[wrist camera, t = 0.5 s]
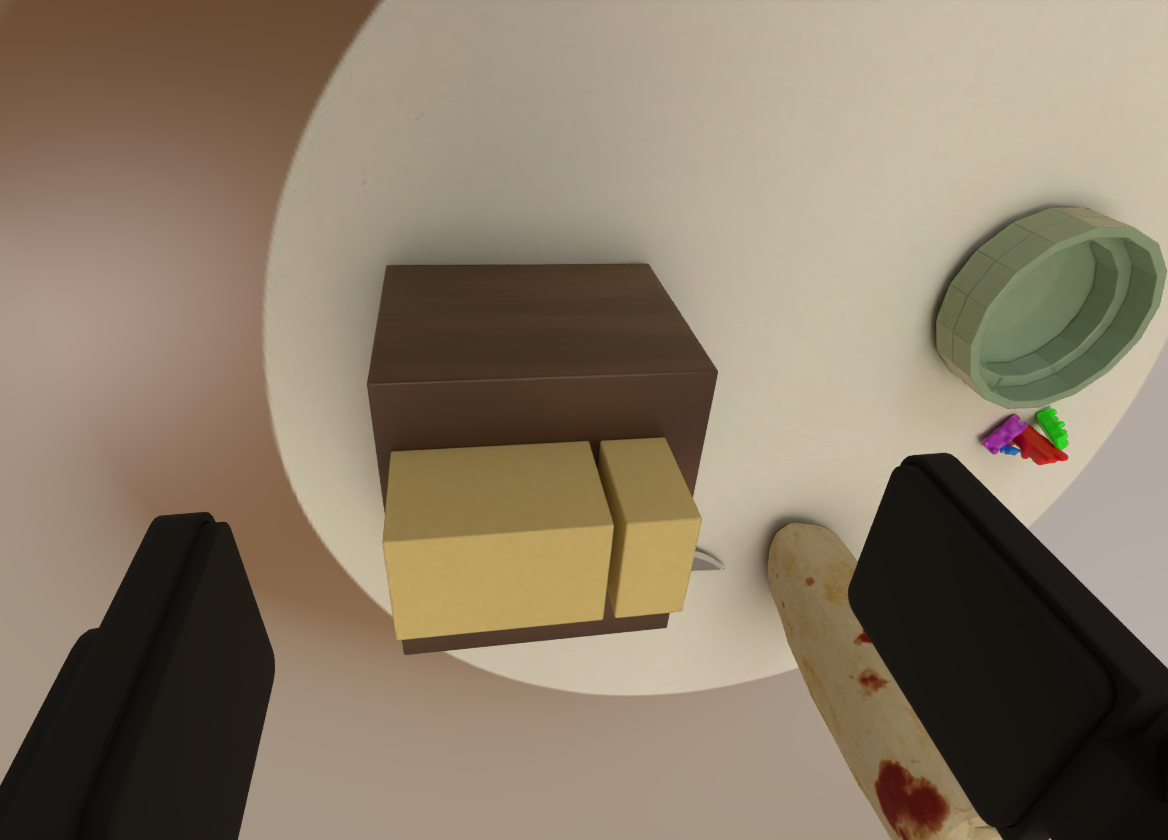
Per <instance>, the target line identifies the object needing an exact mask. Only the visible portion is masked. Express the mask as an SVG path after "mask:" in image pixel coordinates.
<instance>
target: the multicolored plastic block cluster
mask: <svg viewBox="0 0 1168 840" xmlns="http://www.w3.org/2000/svg"><path fill="white" fill-rule="evenodd" d="M1055 414H1056V410H1055V409H1049V410H1045V411H1042V412H1039V413H1037V414H1036V417H1037V420H1038V423H1039V426H1040V427H1041V429H1042V430H1043V432H1044V433H1045V435H1046V437H1047V438H1048V439H1047V438H1046V437H1044V436H1043V435H1041V434H1040V433H1038V432H1037V431H1036V430H1035V429H1034V428H1033V427H1032V426H1031V425H1027V424H1026V423H1025V422H1020V423H1018V422H1019V420H1020V418H1019V417H1018V416H1017V415H1013V416H1011V417H1010V418H1009V419H1008V420H1006V421H1005V422H1004V424H1003V425H1002V426H1000V427H998V428H996V429H995V430H994V431H993V432H992V433H991V434H990V435H989V436H988V437H986V438H984V439H983V440H982V441H981V444H982V445H983V446H984V447H985V448H986V449H987V450H988V451H989V452H991V453H992V454H997V453H998V451H999V450H1000V452H1001V453H1003V452H1004V451H1005V452H1004V453H1005V454H1009V455H1010V454H1011V455H1016V454H1017V453H1018V452H1020V453H1021V457H1022V458H1023V459H1027V458H1029V457H1030V458H1031V459H1032V460H1033V461H1034V462H1035V463H1036V464H1038V465H1044V464H1049V463H1055V462H1057V461H1058V460H1059V461H1066V460H1068V455H1067V454H1065V453H1064V452H1063V451H1061V450H1062V449H1063V448H1065V447H1067V445H1068V440H1067V437H1068V436H1067V431H1066V430H1065V429H1061V428H1062V427H1064V426H1065V423H1064V422H1062V421H1059V422H1058V417H1057V416H1054V415H1055ZM1014 444H1015V445H1016V446H1017V447H1019V448H1020V450H1019V449H1017V448H1015V447H1013V445H1014Z"/></svg>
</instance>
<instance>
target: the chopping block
mask: <svg viewBox="0 0 1168 840" xmlns="http://www.w3.org/2000/svg"><path fill="white" fill-rule="evenodd" d="M717 375H718V370H717V369H716V367H715V366H714V364H713V363H712V361H711V359H710V358H709V356H708V355H707V353H706V352H705V350H704V349H703V347H702V346H701V344H700V343H699V341H698V339H697V338H696V336H695V335H694V333H693V332H692V330H691V329H690V327H689V326H688V324H687V322H686V321H685V319H684V318H683V316H682V315H681V313H680V312H679V310H678V309H677V307H676V306H675V304H674V302H673V301H672V299H671V298H670V296H669V295H668V293H667V292H666V290H665V289H664V287H663V285H662V284H661V282H660V281H659V279H658V278H657V276H656V275H655V273H654V272H653V270H652V269H651V267H650V265H649V264H569V265H404V266H386V270H385V277H384V283H383V289H382V295H381V301H380V307H379V314H378V320H377V326H376V332H375V338H374V344H373V350H372V357H371V363H370V369H369V375H368V381H367V388H368V395H369V403H370V410H371V417H372V425H373V432H374V439H375V446H376V454H377V461H378V468H379V476H380V483H381V490H382V498H383V505H384V512H385V510H386V499H387V489H388V478H389V468H390V457H391V452H392V451H409V450H428V449H447V448H466V447H485V446H504V445H523V444H542V443H561V442H580V441H589V444H590V447H591V450H592V454H593V457H594V460H595V464H596V467H597V470H598V460H599V450H600V442H601V441H605V440H624V439H643V438H662V437H664V438H665V439H666V441H667V443H668V445H669V447H670V450H671V452H672V454H673V456H674V458H675V461H676V463H677V465H678V467H679V469H680V471H681V474H682V476H683V478H684V480H685V482H686V485H687V487H688V489H689V491H690V493H691V496H692V498H693V494H694V489H695V484H696V479H697V474H698V469H699V464H700V459H701V454H702V449H703V444H704V439H705V434H706V429H707V424H708V419H709V414H710V410H711V405H712V400H713V395H714V390H715V385H716V380H717ZM668 618H669V613H661V614H651V615H641V616H631V617H621V618H615V616H614V613H613V609H612V605H611V601H610V597H609V594H608V590H607V589H606V598H605V606H604V614H603V619H602V620H595V621H585V622H575V623H565V624H555V625H545V626H535V627H525V628H515V629H505V630H495V631H485V632H475V633H465V634H455V635H445V636H435V637H425V638H415V639H405V640H402V643H403V651H404V654H405V655H410V654H420V653H429V652H438V651H449V650H458V649H468V648H478V647H487V646H497V645H507V644H516V643H526V642H535V641H545V640H555V639H564V638H574V637H583V636H593V635H603V634H612V633H622V632H632V631H641V630H651V629H660V628H666V627H667V623H668Z"/></svg>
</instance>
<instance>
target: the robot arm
mask: <svg viewBox="0 0 1168 840" xmlns="http://www.w3.org/2000/svg"><path fill="white" fill-rule="evenodd" d="M848 600H849V604H850V607H851V609H852V611H853V613H854V615H855V616H856V618H857V620H858V621H859V623H860V625H861V626H862V628H863V629H864V631H865V633H866V634H867V636H868V637H869V639H870V641H871V642H872V644H873V646H874V647H875V649H876V650H877V652H878V654H879V655H880V657H881V658H882V660H883V662H884V663H885V665H886V667H887V668H888V670H889V671H890V673H891V675H892V676H893V678H894V680H895V681H896V683H897V684H898V686H899V688H900V689H901V691H902V692H903V694H904V696H905V697H906V699H907V701H908V702H909V704H910V705H911V707H912V709H913V710H914V712H915V714H916V715H917V717H918V718H919V720H920V722H921V723H922V725H923V726H924V728H925V730H926V731H927V733H928V735H929V736H930V738H931V739H932V741H933V743H934V744H935V746H936V748H937V749H938V751H939V752H940V754H941V756H942V757H943V759H944V760H945V762H946V764H947V765H948V767H949V769H950V770H951V772H952V773H953V775H954V777H955V778H956V780H957V782H958V783H959V785H960V786H961V788H962V790H963V791H964V793H965V794H966V796H967V798H968V799H969V801H970V803H971V804H972V806H973V807H974V809H975V811H976V812H977V814H978V815H979V816H980V818H981V819H982V820H983V821H984V822H985V823H986V824H988V825H989V826H991V827H995V828H996V830H997V831H998V833H999V835H1000V836H1001V838H1002V839H1003V840H1049V838H1051V839H1052V840H1168V669H1167V667H1166V666H1165V665H1164V664H1163V663H1162V662H1161V661H1160V660H1159V659H1158V658H1157V657H1155V655H1154V654H1153V653H1152V652H1151V651H1150V650H1149V649H1148V648H1146V647H1145V645H1144V644H1142V642H1141V641H1140V640H1139V639H1138V638H1137V637H1136V636H1135V635H1134V634H1132V632H1130V630H1128V629H1127V627H1126V626H1124V625H1123V623H1122V622H1120V621H1119V619H1117V618H1116V617H1115V616H1114V615H1113V614H1112V613H1111V612H1110V611H1109V610H1108V609H1107V608H1106V607H1105V606H1104V605H1103V604H1102V603H1101V602H1100V601H1099V600H1098V599H1097V598H1096V597H1095V596H1094V595H1093V594H1092V593H1091V592H1090V591H1089V590H1088V589H1087V588H1086V587H1085V586H1084V585H1083V584H1082V583H1081V582H1080V581H1079V580H1078V579H1077V578H1076V577H1075V576H1074V575H1073V574H1072V573H1071V572H1070V571H1069V570H1068V569H1067V568H1066V567H1065V566H1064V565H1063V564H1062V563H1061V562H1060V561H1059V560H1058V559H1057V558H1056V557H1055V556H1054V555H1053V554H1052V553H1051V552H1050V551H1049V550H1048V549H1047V548H1046V547H1045V546H1044V545H1043V544H1042V543H1041V542H1040V541H1039V540H1038V539H1037V538H1036V537H1035V536H1034V535H1033V534H1032V533H1031V532H1030V531H1029V530H1028V529H1027V528H1026V527H1025V526H1024V525H1023V524H1022V523H1021V522H1020V521H1019V520H1018V519H1017V518H1016V517H1015V516H1014V515H1013V514H1012V513H1011V512H1010V511H1009V510H1008V509H1007V508H1006V507H1005V506H1004V505H1003V504H1002V503H1001V502H1000V501H999V500H998V499H997V498H996V497H995V496H994V495H993V494H992V493H991V492H990V491H989V490H988V489H987V488H986V487H985V486H984V485H983V484H982V483H981V482H980V481H979V480H978V479H977V478H976V477H975V476H974V475H973V474H972V473H971V472H970V471H969V470H968V469H967V468H966V467H965V466H964V465H963V464H962V463H961V462H960V461H959V460H958V459H957V458H956V457H954V456H953V455H951V454H948V453H935V454H923V455H912V456H908V457H906V458H905V459H904V460H903V461H902V463H901V465H900V466H898V467H896V468H895V469H894V470H893V472H892V474H891V476H890V479H889V481H888V484H887V487H886V489H885V492H884V495H883V497H882V500H881V503H880V505H879V508H878V510H877V513H876V516H875V518H874V521H873V524H872V526H871V529H870V531H869V534H868V537H867V539H866V542H865V545H864V547H863V550H862V552H861V555H860V558H859V560H858V563H857V566H856V568H855V571H854V574H853V576H852V579H851V581H850V584H849V587H848ZM274 674H275V659H274V653H273V649H272V647H271V644H270V641H269V638H268V635H267V632H266V629H265V626H264V623H263V620H262V618H261V615H260V612H259V609H258V606H257V603H256V600H255V597H254V594H253V591H252V589H251V586H250V583H249V580H248V577H247V574H246V571H245V569H244V565H243V562H242V560H241V557H240V554H239V551H238V548H237V545H236V543H235V540H234V537H233V533H232V531H231V528H230V526H229V525H228V523H227V522H217V523H216V522H215V520H214V518H213V516H212V515H211V514H210V513H208V512H199V513H187V514H175V515H163V516H158V517H156V518H155V519H154V520H153V521H152V523H151V525H150V526H149V528H148V530H147V532H146V534H145V536H144V538H143V540H142V542H141V545H140V547H139V549H138V550H137V552H136V554H135V556H134V558H133V560H132V563H131V564H130V566H129V569H128V571H127V573H126V575H125V577H124V579H123V581H122V583H121V585H120V587H119V589H118V591H117V593H116V595H115V597H114V599H113V601H112V603H111V605H110V607H109V609H108V611H107V613H106V615H105V617H104V619H103V621H102V623H101V625H100V627H99V628H95V629H90V630H88V631H87V632H85V633H84V634H83V635H82V636H80V637H79V639H78V640H77V642H76V643H75V645H74V646H73V648H72V649H71V651H70V653H69V655H68V657H67V659H66V660H65V662H64V664H63V666H62V668H61V670H60V672H59V674H58V676H57V678H56V680H55V682H54V683H53V685H52V687H51V689H50V691H49V693H48V695H47V697H46V699H45V701H44V703H43V705H42V707H41V708H40V711H39V713H38V714H37V716H36V718H35V720H34V722H33V724H32V726H31V728H30V730H29V731H28V733H27V735H26V737H25V739H24V741H23V743H22V745H21V747H20V749H19V751H18V753H17V754H16V756H15V758H14V760H13V762H12V764H11V766H10V768H9V770H8V772H7V774H6V776H5V778H4V779H3V781H2V783H1V785H0V840H238V837H239V832H240V828H241V823H242V819H243V814H244V810H245V806H246V801H247V796H248V792H249V788H250V782H251V779H252V774H253V770H254V766H255V761H256V757H257V752H258V748H259V743H260V739H261V734H262V730H263V725H264V721H265V717H266V712H267V708H268V703H269V699H270V694H271V690H272V685H273V681H274Z"/></svg>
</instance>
